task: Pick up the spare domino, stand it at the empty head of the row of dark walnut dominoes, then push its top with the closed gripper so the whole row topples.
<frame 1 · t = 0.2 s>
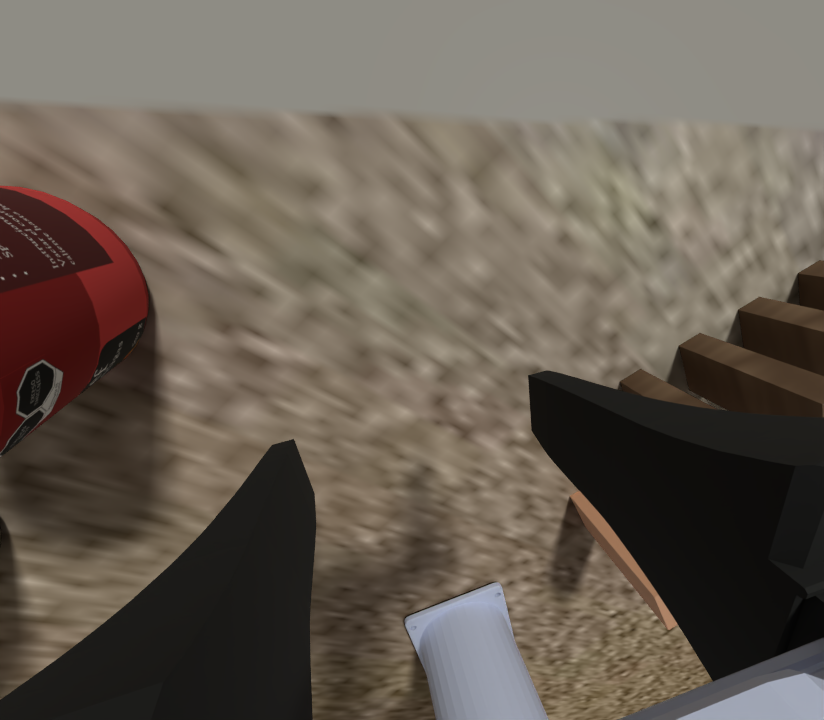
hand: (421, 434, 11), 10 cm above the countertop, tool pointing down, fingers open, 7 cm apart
domino 2: (637, 397, 26), on the countertop
spare domino: (586, 506, 29), on the countertop
canned food: (59, 286, 17), on the countertop
domino 3: (694, 362, 26), on the countertop
domino 4: (751, 327, 26), on the countertop
domino 5: (809, 292, 26), on the countertop
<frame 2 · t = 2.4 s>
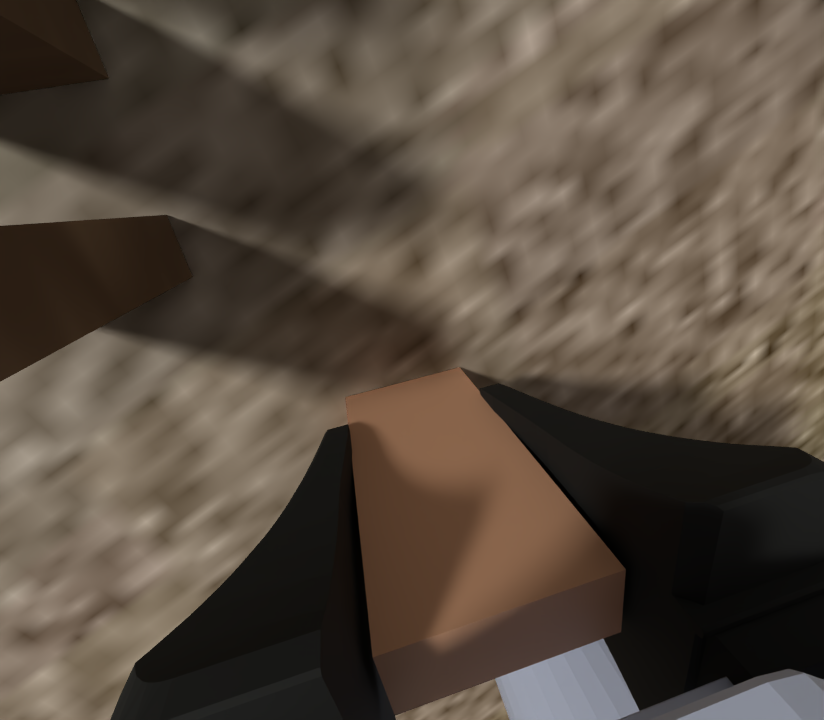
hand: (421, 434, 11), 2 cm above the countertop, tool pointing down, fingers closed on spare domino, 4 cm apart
domino 2: (99, 263, 10), on the countertop
spare domino: (407, 402, 13), on the countertop, touching gripper
when the fingers open (2 cm above the countertop, at t = 6.0 s): spare domino stays where it is, on the countertop.
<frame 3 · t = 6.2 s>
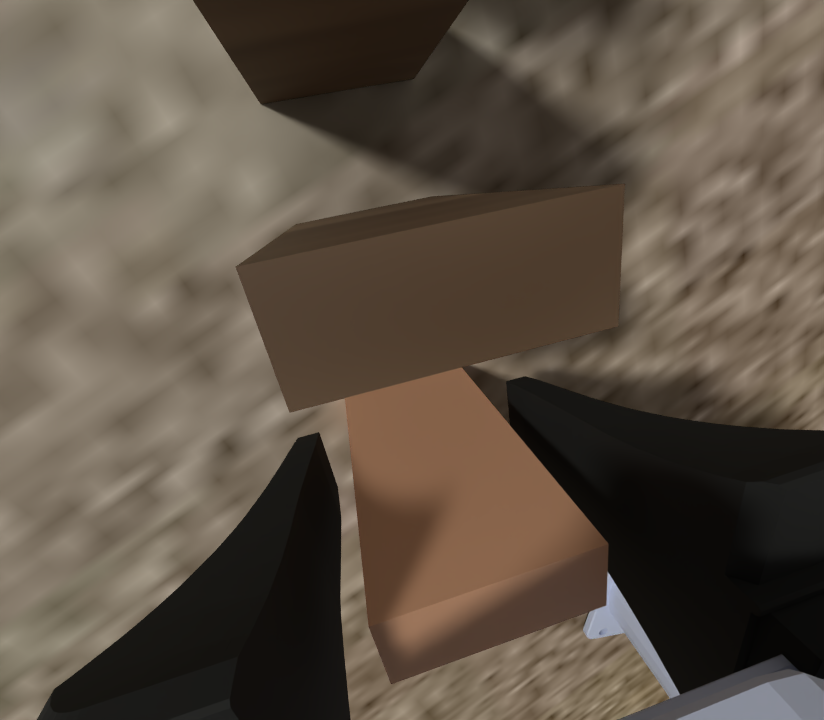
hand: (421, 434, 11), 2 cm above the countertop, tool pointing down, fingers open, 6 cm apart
domino 2: (371, 238, 11), on the countertop
spare domino: (405, 394, 13), on the countertop
domino 3: (330, 53, 9), on the countertop
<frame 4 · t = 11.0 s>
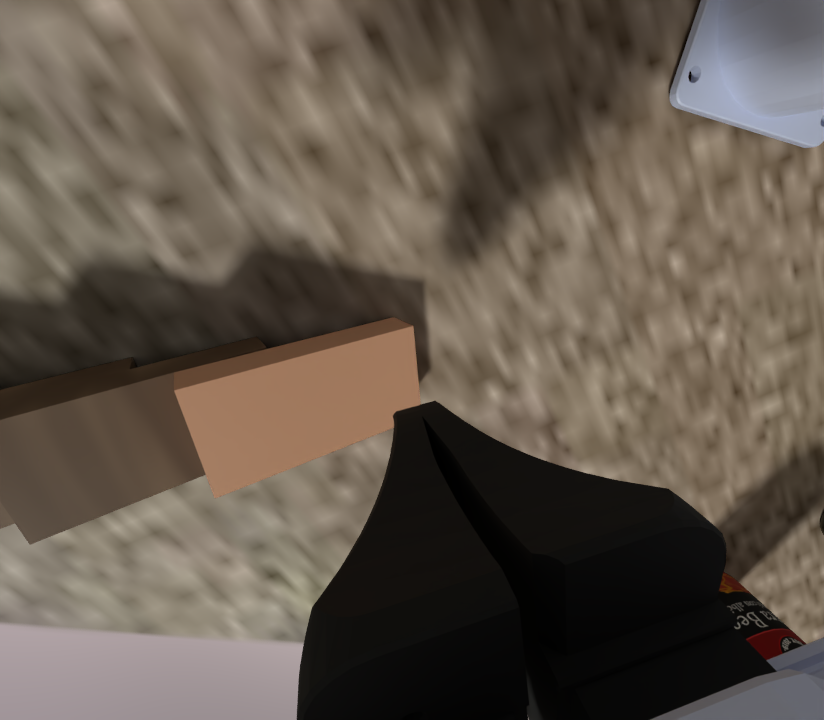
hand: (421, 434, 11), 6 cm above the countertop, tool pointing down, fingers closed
domino 2: (274, 388, 15), point 1 cm above the countertop, tilted 69°, touching domino 3, spare domino
spare domino: (407, 367, 16), point 1 cm above the countertop, tilted 71°, touching domino 2
canned food: (678, 599, 29), on the countertop
domino 3: (152, 411, 14), point 1 cm above the countertop, tilted 70°, touching domino 2, domino 4
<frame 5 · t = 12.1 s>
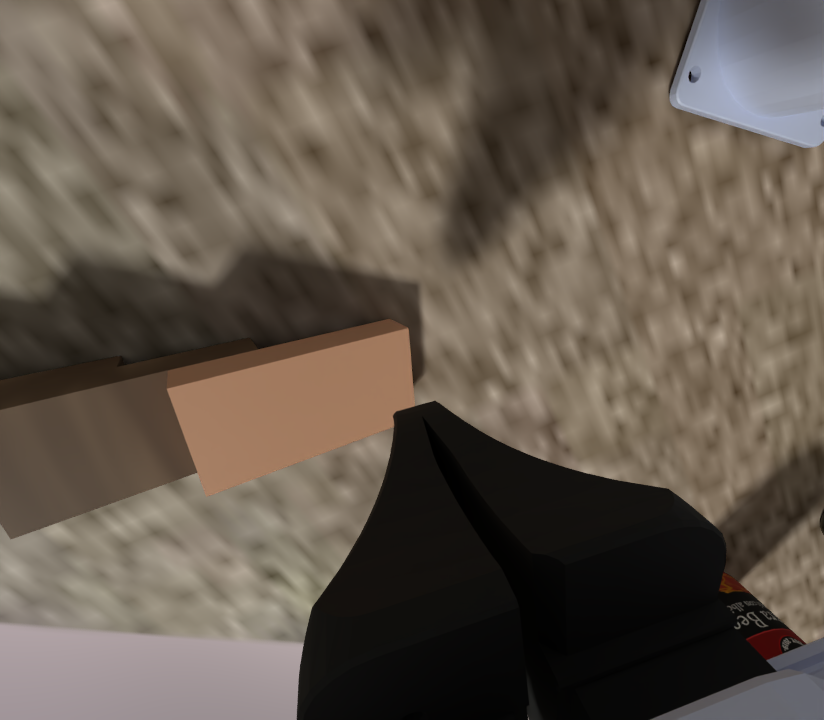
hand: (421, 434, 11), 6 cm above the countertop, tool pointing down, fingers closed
domino 2: (265, 390, 15), point 1 cm above the countertop, tilted 70°, touching domino 3, spare domino
spare domino: (402, 369, 16), point 1 cm above the countertop, tilted 72°, touching domino 2
canned food: (678, 599, 29), on the countertop
domino 3: (138, 411, 14), point 1 cm above the countertop, tilted 71°, touching domino 2
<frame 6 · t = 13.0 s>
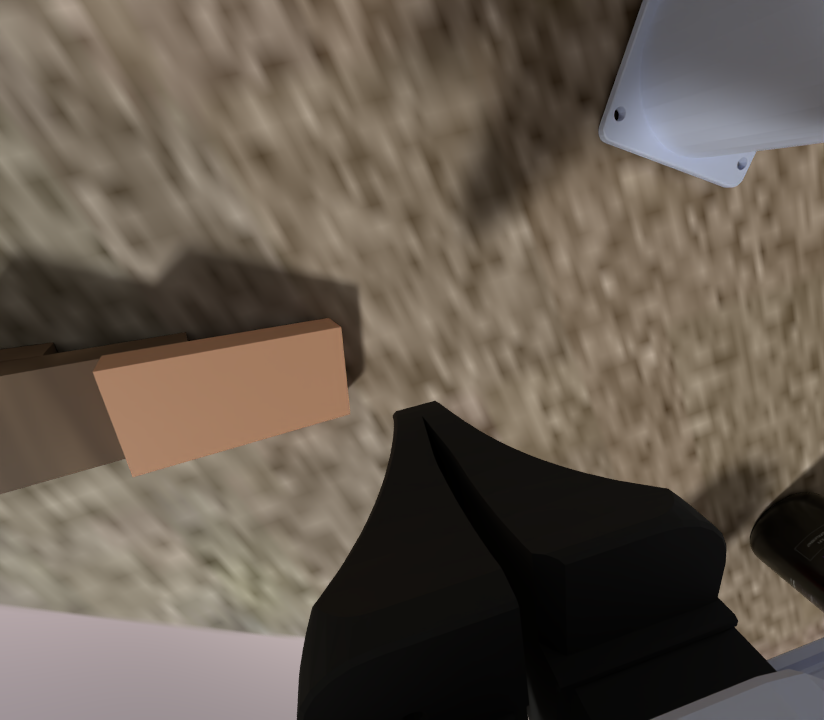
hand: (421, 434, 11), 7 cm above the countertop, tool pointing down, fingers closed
domino 2: (199, 383, 16), point 1 cm above the countertop, tilted 71°, touching domino 3, spare domino
spare domino: (339, 366, 17), point 1 cm above the countertop, tilted 73°, touching domino 2
domino 3: (66, 396, 15), point 1 cm above the countertop, tilted 71°, touching domino 2
supplement bottle: (779, 521, 30), on the countertop
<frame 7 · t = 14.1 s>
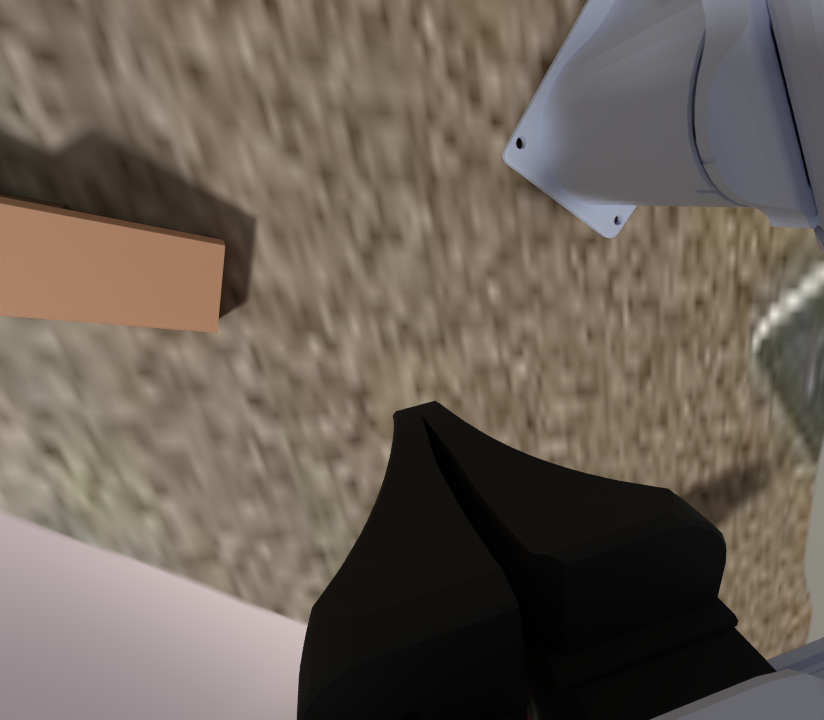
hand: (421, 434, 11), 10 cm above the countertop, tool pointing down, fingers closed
spare domino: (220, 286, 18), point 1 cm above the countertop, tilted 74°, touching domino 2
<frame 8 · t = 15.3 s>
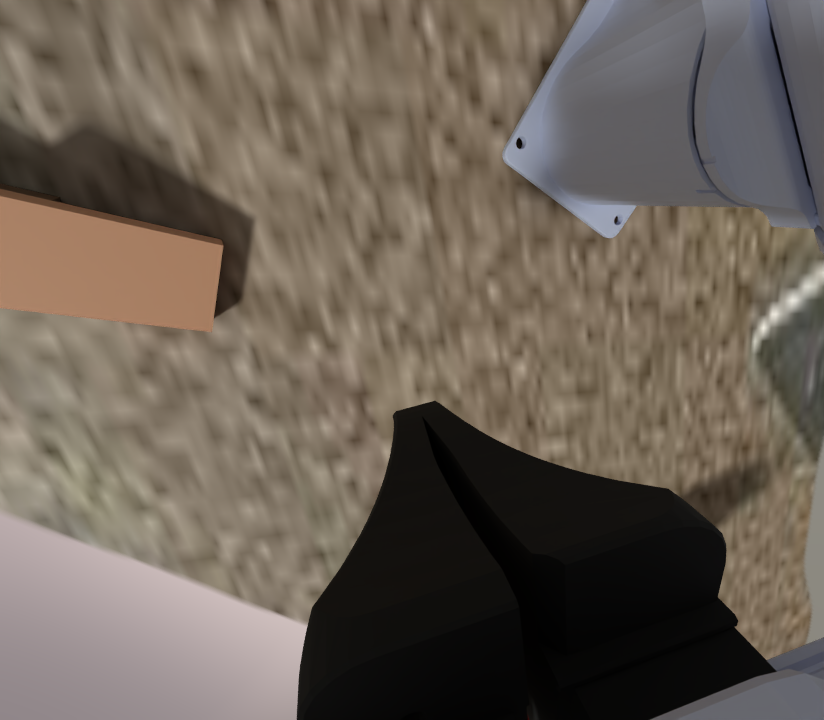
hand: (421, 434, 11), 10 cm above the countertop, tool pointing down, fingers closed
domino 2: (55, 248, 16), point 1 cm above the countertop, tilted 72°, touching domino 3, spare domino
spare domino: (216, 285, 18), point 1 cm above the countertop, tilted 74°, touching domino 2
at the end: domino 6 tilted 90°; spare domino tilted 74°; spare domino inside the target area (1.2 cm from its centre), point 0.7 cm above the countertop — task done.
